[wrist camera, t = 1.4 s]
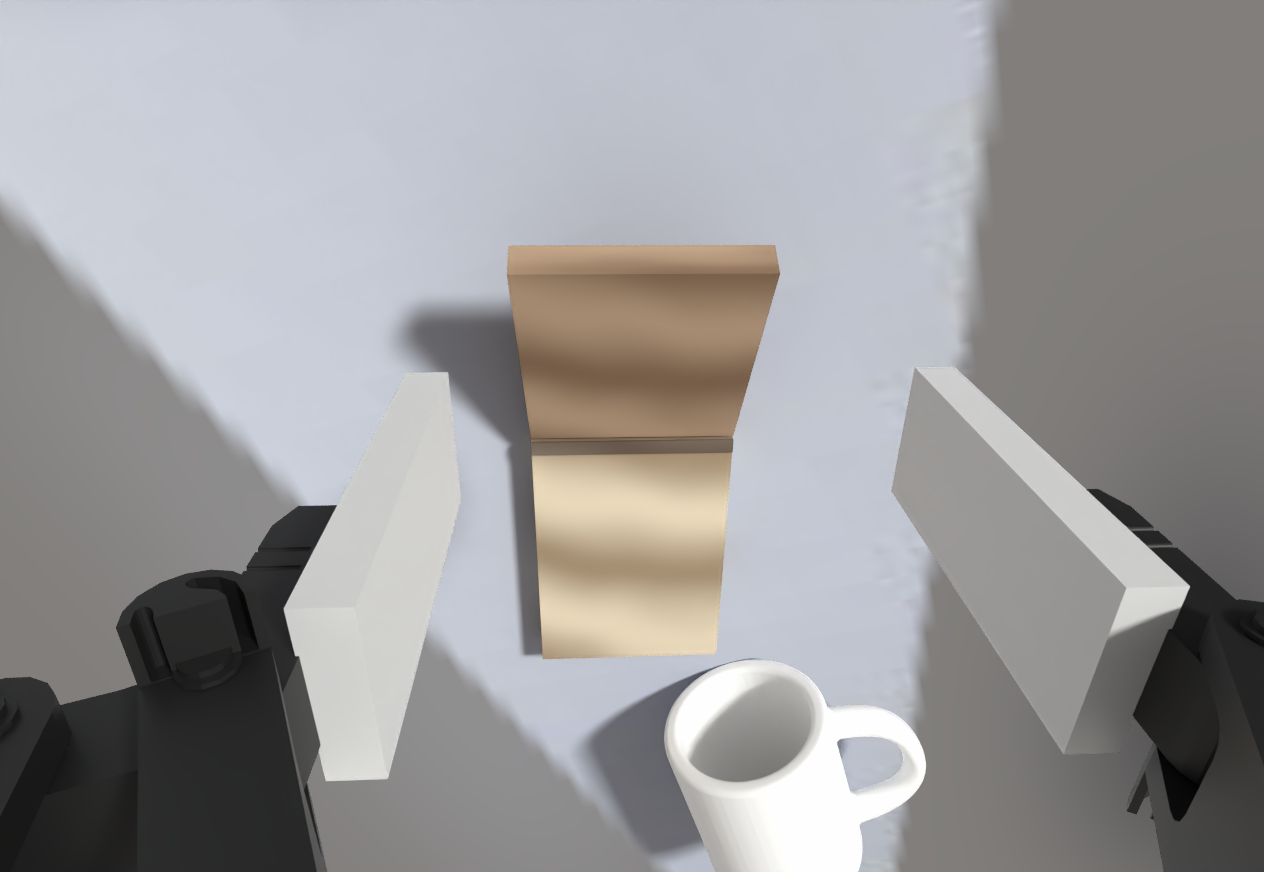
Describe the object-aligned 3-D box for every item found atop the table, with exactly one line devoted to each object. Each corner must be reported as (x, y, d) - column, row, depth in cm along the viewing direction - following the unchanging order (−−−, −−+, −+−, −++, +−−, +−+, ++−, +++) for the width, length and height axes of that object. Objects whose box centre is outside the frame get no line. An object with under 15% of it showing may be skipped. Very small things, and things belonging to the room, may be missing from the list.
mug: (704, 799, 46) (726, 939, 39) (656, 680, 42) (670, 814, 34) (907, 748, 45) (967, 882, 38) (880, 619, 40) (942, 745, 33)
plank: (508, 246, 25) (507, 274, 24) (774, 245, 25) (779, 273, 25) (531, 414, 34) (530, 438, 33) (730, 411, 34) (733, 436, 33)
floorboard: (533, 426, 34) (530, 442, 33) (727, 423, 35) (733, 440, 33) (544, 639, 40) (542, 660, 38) (711, 634, 40) (716, 655, 39)
